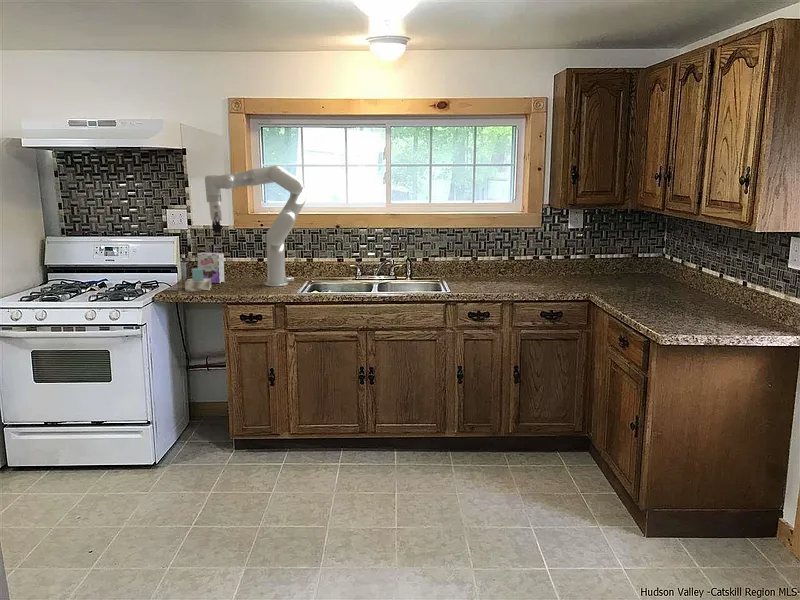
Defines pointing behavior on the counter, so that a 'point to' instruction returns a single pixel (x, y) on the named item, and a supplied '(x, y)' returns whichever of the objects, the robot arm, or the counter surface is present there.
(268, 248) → the robot arm
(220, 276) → the candy box
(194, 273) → the teal block
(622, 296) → the counter surface
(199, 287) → the birch block
